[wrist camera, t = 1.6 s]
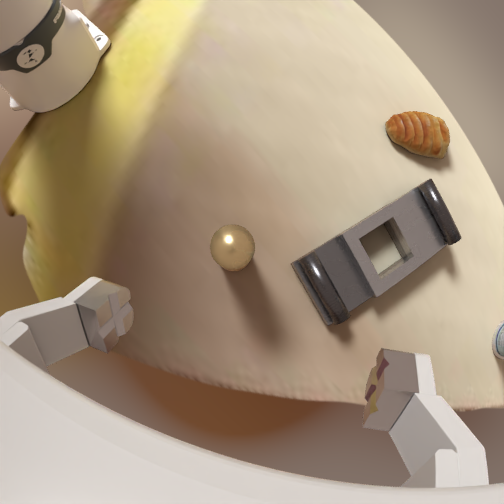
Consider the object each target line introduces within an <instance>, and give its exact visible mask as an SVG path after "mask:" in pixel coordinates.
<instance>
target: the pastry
mask: <svg viewBox="0 0 504 504" xmlns="http://www.w3.org/2000/svg"><path fill="white" fill-rule="evenodd" d="M385 126H386V132H387V134H388V135H389V137H390V139H391V140H392V141H393V142H394V143H396V144H399V145H400V146H402V147H404V148H406V149H407V150H409V151H410V152H411V153H413V154H419V155H423V156H426V157H432V158H438V159H442V158H444V156H445V153H446V152H447V148H448V146H449V143H450V135H449V129H448V127H447V126H446V124H445V122H444V121H443V120H442V119H441V118H439V117H435V116H433V115H430V114H428V113H425V112H417V111H413V112H411V111H409V112H404V113H402V114H397V115H393V116H392V117H391V118H390V119H389V120H388V121H387V122H386V124H385Z"/></svg>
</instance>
